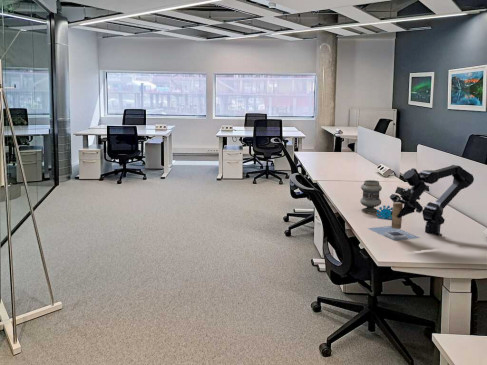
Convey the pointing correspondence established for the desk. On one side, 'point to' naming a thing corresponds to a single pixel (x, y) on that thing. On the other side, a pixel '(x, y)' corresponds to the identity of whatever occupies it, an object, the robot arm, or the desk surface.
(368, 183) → the apothecary jar
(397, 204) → the tan wooden peg
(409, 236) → the board
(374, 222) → the desk surface
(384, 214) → the blue virus model
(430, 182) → the robot arm
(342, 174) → the desk surface
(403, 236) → the metal collar
